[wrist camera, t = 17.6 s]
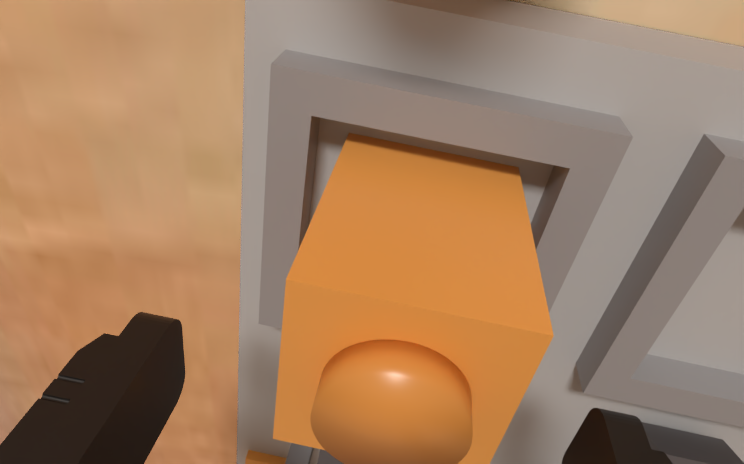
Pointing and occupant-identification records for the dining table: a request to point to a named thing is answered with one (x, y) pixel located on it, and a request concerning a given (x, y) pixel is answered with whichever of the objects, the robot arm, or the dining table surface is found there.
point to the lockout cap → (411, 309)
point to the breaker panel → (540, 185)
